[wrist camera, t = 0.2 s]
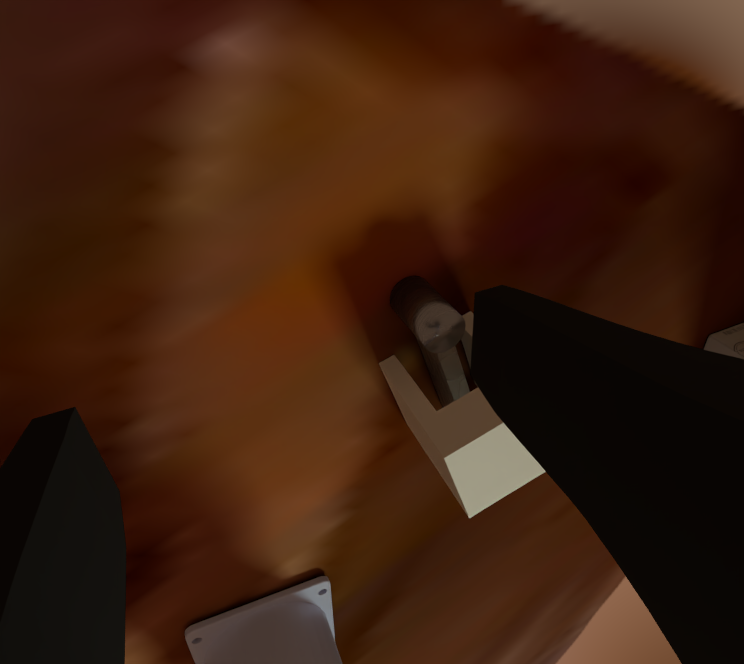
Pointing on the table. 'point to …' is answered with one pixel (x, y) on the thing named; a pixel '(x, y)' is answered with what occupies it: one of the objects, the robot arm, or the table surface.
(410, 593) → the table surface
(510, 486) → the u block
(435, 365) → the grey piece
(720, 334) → the coffee box
